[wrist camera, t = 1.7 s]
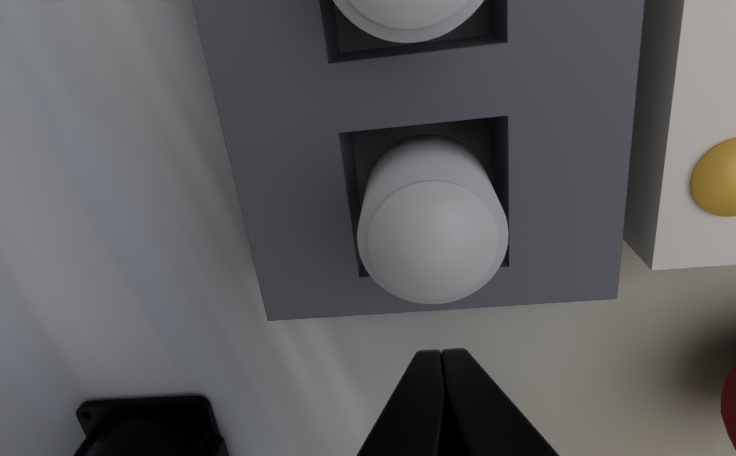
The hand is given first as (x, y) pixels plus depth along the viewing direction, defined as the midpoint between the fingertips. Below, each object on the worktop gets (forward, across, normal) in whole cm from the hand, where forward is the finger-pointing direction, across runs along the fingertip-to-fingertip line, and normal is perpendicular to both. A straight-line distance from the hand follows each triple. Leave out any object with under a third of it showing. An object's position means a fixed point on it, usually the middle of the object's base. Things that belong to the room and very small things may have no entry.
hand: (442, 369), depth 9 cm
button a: (+9, 0, 0) cm, 9 cm away
